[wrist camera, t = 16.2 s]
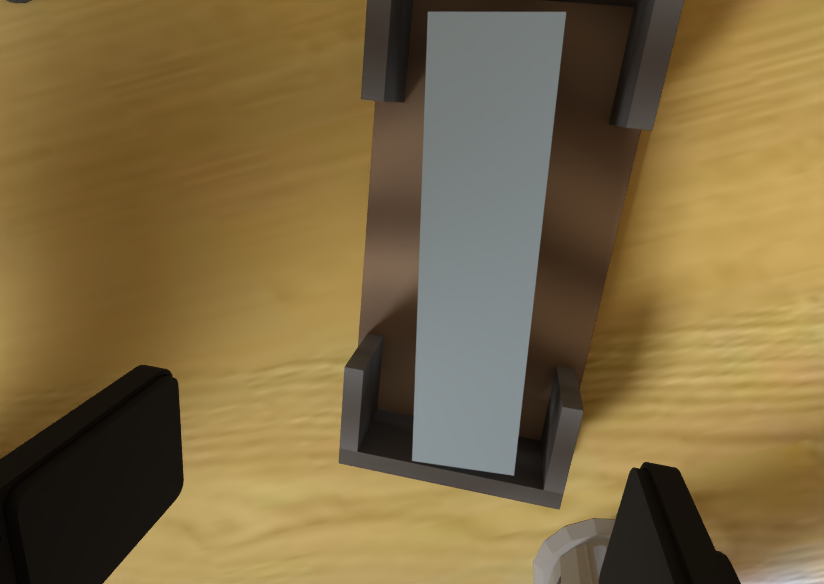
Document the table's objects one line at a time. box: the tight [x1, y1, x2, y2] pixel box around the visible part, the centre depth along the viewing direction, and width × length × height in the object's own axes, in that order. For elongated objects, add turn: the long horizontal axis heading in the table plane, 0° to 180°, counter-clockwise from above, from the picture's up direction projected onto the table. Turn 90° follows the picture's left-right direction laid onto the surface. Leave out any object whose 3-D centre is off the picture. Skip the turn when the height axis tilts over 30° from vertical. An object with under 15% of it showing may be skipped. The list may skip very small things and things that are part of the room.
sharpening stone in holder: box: [339, 0, 684, 510], centre depth 27 cm, size 27×13×6 cm, turn 174°
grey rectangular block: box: [412, 12, 566, 476], centre depth 25 cm, size 20×5×6 cm, turn 178°
